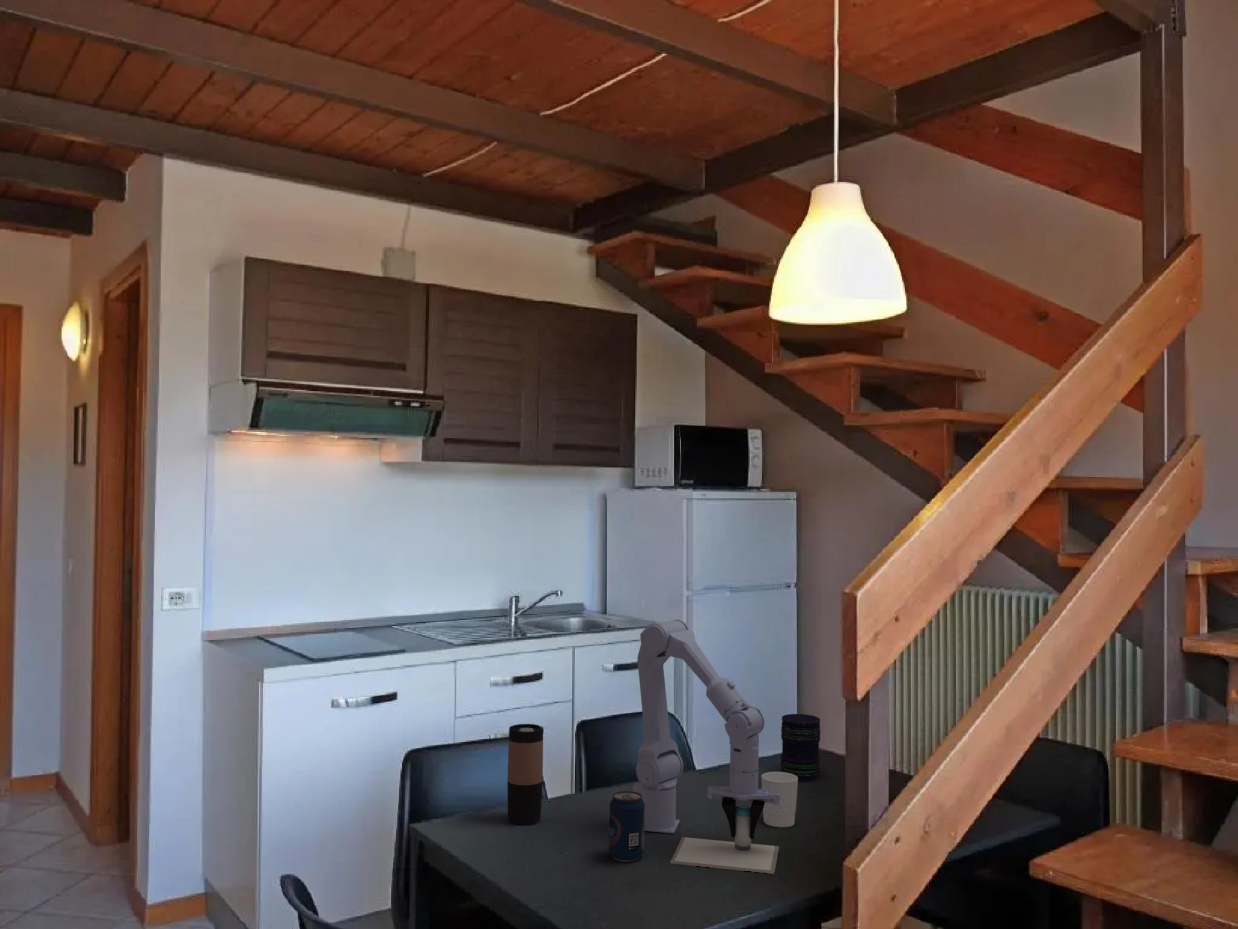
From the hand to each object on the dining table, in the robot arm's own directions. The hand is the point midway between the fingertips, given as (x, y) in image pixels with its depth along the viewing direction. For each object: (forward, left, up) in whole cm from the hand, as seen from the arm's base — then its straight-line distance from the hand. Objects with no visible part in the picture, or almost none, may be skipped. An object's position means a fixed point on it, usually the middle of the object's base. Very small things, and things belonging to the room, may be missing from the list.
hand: (742, 836), depth 202 cm
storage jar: (+9, +56, -3) cm, 57 cm away
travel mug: (-48, +5, -3) cm, 48 cm away
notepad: (-3, -4, -3) cm, 6 cm away
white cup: (+6, +19, -3) cm, 20 cm away
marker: (0, 0, -2) cm, 2 cm away
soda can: (-22, -10, -3) cm, 24 cm away
